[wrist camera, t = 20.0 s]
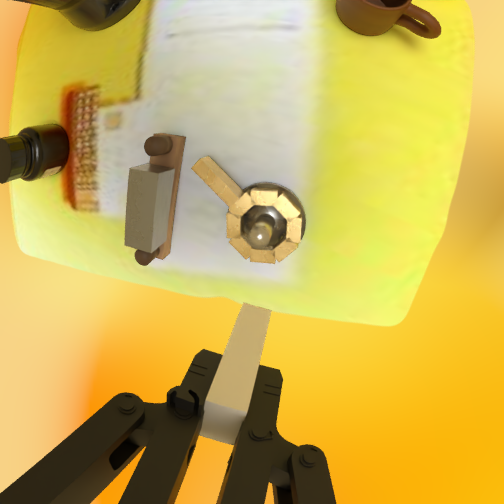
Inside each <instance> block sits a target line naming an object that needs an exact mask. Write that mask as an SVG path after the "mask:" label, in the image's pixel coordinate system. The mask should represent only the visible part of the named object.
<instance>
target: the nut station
mask: <svg viewBox="0 0 504 504" xmlns="http://www.w3.org/2000/svg"><path fill="white" fill-rule="evenodd" d="M253 188H274V189H279V194H280V193H282V192H283V191H284V192H285V193H286V194H287V195H288V196H289V197H290V198H291V199H292V201H293V202H294V203H295V204H296V205H297V206H298V207H299V208H300V209H301V211H300V214H302V225H301V239H302V237H303V235H304V231H305V224H306V219H305V212H304V209H303V206H302V204H301V202H300V201H299V199H298V198H297V197H296V195H295V194H294V193H293V192H291V191H290V190H289V189H287V188H286V187H284V186H281V185H279V184H276V183H269V182H263V183H257V184H253V185H251V186H249V187H247V188H245V189H244V190H243V191H244V193H246V192H247V191H248V190H249V189H250V190H252V189H253ZM228 212H229V211H228ZM244 232H245V233H246V234H247V235H248V242H249V244H250V245H251V246H252V247H253V248H255V249H263V248H265V247H266V246H267V245H268V244H270V245H274V244H276V243H277V242H278V241H279V240H280V239H282V238H283V237H284V236H285V235H286V234H287V220H286V219H285V218H284V216H283V215H282V214H281V213H280V212H279V211H278V210H277V209H276V208H275V207H274V206H265V205H253V206H252V207H251V208H250V209H249V210H248V211H247V212H246V213H245V214H244ZM300 241H301V240H300ZM298 244H299V243H298Z"/></svg>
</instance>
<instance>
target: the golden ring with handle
mask: <svg viewBox="0 0 504 504" xmlns="http://www.w3.org/2000/svg"><path fill="white" fill-rule="evenodd" d="M191 169H192V170H193V171H194V172H195V173H196V174H197V175H198V176H199V177H200V178H201V179H202V180H203V181H204V182H205V183H206V184H207V185H208V186H209V187H210V188H211V189H212V190H213V191H214V192H215V193H216V194H217V195H218V196H219V197H220V198H221V199H222V200H223V201H224V202H225V203H226V204H227V205H228V206H229V207H230V208H229V209H228V210H229V212H228V213H227V214H226V219H227V238H231V240H230V241H229V243H230V244H231V245H232V246H233V247H234V248H235V249H236V250H237V251H238V252H239V253H240V254H241V255H242V256H243V257H244V258H245V259H247V258H249V257H250V262H261V263H273V264H275V261H276V259H277V261H278V262H280V261H282V260H283V259H284V258H285V257H287V256H288V255H289V254H290V253H292V252H293V251H294V250H295V249H296V248H298V243H300V240H301V225H302V214H300V211H301V209H300V208H299V207H298V206H297V205H296V204H295V203H294V202H293V201H292V199H291V198H290V197H289V196H288V195H287V194H286V193H285V192H284V191H283V192H282V193H280V194H279V189H274V188H253V189H252V190H250V189H249V190H248V191H247V192H246V193H244V191H243V190H242V189H241V188H240V187H239V186H238V185H237V184H236V183H235V182H234V181H233V180H232V179H231V178H230V177H229V176H228V175H227V174H226V173H225V172H224V171H223V170H222V169H221V168H220V167H219V166H218V165H217V164H216V163H215V162H214V161H213V160H212V159H211V158H210V157H209V156H208V157H204V158H200V159H199V160H198V161H197V162H196V163H195V165H194V166H193V167H192V168H191ZM253 205H265V206H274V207H275V208H276V209H277V210H278V211H279V212H280V213H281V214H282V215H283V216H284V218H285V219H286V220H287V234H286V235H285V236H284V237H283V238H282V239H280V240H279V241H278V242H277V243H276V244H274V245H270V244H268V245H267V246H266V247H265V248H263V249H255V248H253V247H252V246H251V245H250V244H249V242H248V235H247V234H246V233H245V232H244V214H245V213H246V212H247V211H248V210H249V209H250V208H251V207H252V206H253Z"/></svg>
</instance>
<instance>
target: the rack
mask: <svg viewBox="0 0 504 504" xmlns="http://www.w3.org/2000/svg"><path fill="white" fill-rule="evenodd" d="M185 139H186V137H184V136H177V135H171V134H164V133H159V134H154V136H152V137H149V138H148V139H147V140H146V142H145V145H144V149H145V152H146V153H147V154H148V155H149V156H150V164H155V165H160V166H165V167H170V168H175V173H174V180H173V188H172V195H171V203H170V211H169V220H168V229H167V239H166V241H165V242H164V243H163V244H162V245H160V246H159V247H158V248H157V249H156V250H155V251H153V252H152V253H148V252H145V251H142V250H139V249H138V250H137V251H136V252H135V259H136V261H137V262H138V263H139V264H140V265H143V266H145V265H148V264H149V263H150V262H151V261H152V260H153V259H154V258H159V259H162V260H163V259H164V258H165V257H166V256H167V255H168V254H169V253H170V247H171V237H172V228H173V220H174V212H175V204H176V196H177V189H178V182H179V176H180V169H181V163H182V157H183V151H184V145H185Z"/></svg>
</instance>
